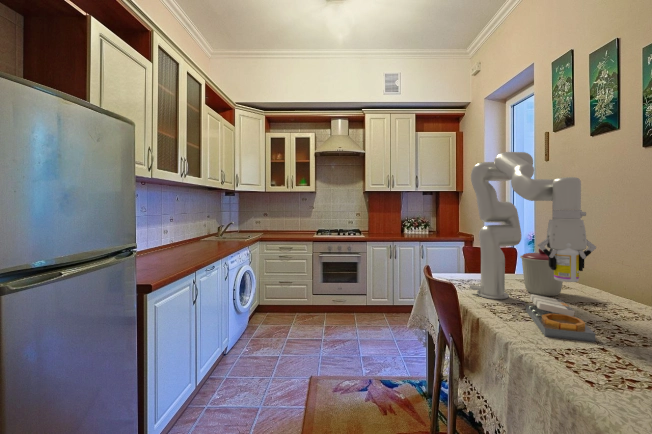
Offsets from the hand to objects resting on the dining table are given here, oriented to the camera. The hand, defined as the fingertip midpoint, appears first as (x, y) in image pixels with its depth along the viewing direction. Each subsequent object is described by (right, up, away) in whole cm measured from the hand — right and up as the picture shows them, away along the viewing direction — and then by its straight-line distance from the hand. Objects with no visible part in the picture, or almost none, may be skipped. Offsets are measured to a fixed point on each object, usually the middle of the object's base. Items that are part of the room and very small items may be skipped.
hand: (566, 269), depth 108 cm
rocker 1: (+3, -14, +13) cm, 19 cm away
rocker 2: (+1, -14, +9) cm, 16 cm away
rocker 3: (-1, -14, +4) cm, 15 cm away
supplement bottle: (0, -4, 0) cm, 4 cm away
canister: (+20, -18, +43) cm, 51 cm away
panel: (-1, -19, +3) cm, 19 cm away
